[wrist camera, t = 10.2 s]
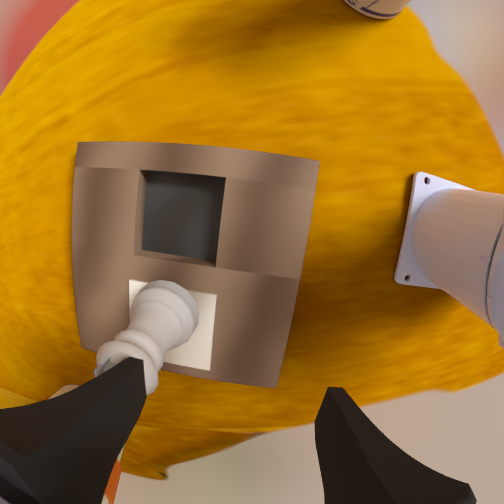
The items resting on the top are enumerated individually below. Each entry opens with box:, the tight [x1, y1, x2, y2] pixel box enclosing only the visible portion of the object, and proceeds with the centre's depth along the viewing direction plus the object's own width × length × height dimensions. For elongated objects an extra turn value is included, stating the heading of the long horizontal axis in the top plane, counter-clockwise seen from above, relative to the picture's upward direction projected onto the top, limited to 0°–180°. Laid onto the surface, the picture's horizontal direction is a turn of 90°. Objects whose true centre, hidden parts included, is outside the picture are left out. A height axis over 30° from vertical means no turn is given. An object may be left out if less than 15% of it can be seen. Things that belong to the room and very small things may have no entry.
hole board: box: [72, 142, 320, 388], centre depth 19 cm, size 16×16×2 cm
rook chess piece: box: [94, 280, 199, 395], centre depth 15 cm, size 4×4×8 cm
